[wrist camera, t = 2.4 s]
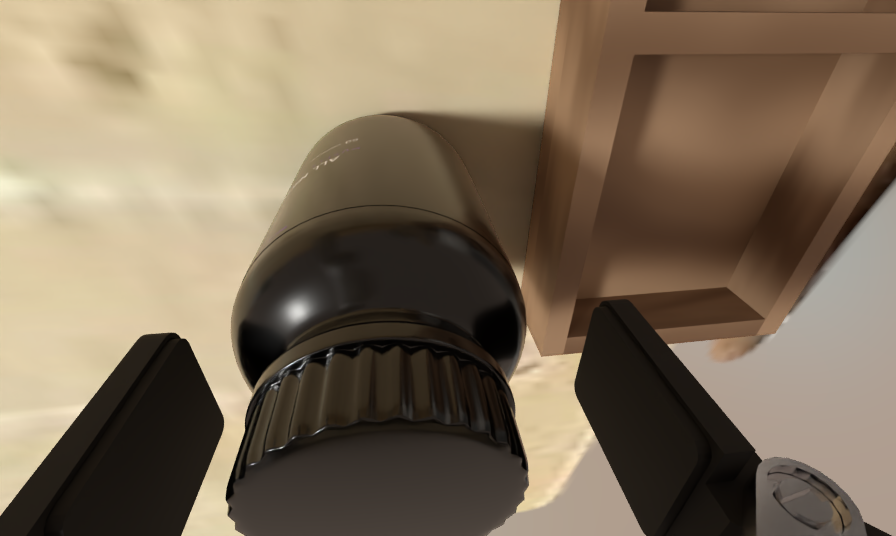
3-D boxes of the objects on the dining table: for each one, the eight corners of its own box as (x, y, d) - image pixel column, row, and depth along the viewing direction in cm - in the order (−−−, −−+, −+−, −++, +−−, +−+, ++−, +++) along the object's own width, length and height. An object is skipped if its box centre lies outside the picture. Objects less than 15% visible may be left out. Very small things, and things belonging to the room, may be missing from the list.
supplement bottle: (298, 93, 14) (71, 335, 4) (486, 128, 15) (683, 364, 5) (297, 261, 17) (181, 612, 7) (450, 275, 19) (525, 581, 9)
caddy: (672, -817, 7) (891, -1435, 4) (1194, -675, 8) (1648, -1055, 5) (518, 306, 20) (541, 356, 17) (722, 289, 22) (775, 333, 19)
